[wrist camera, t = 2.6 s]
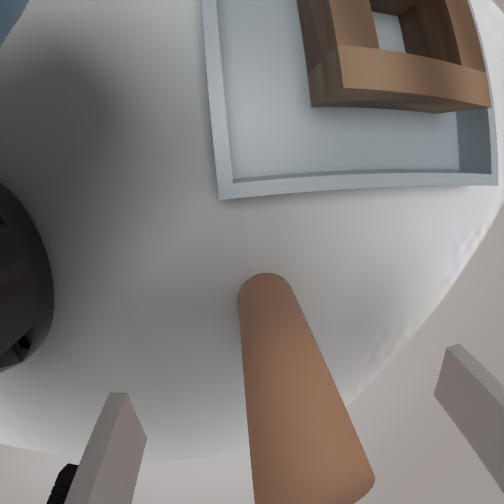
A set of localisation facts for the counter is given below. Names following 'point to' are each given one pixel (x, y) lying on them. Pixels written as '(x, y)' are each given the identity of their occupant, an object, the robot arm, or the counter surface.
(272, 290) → the peg
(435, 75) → the block
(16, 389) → the counter surface
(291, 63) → the tray
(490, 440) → the robot arm
